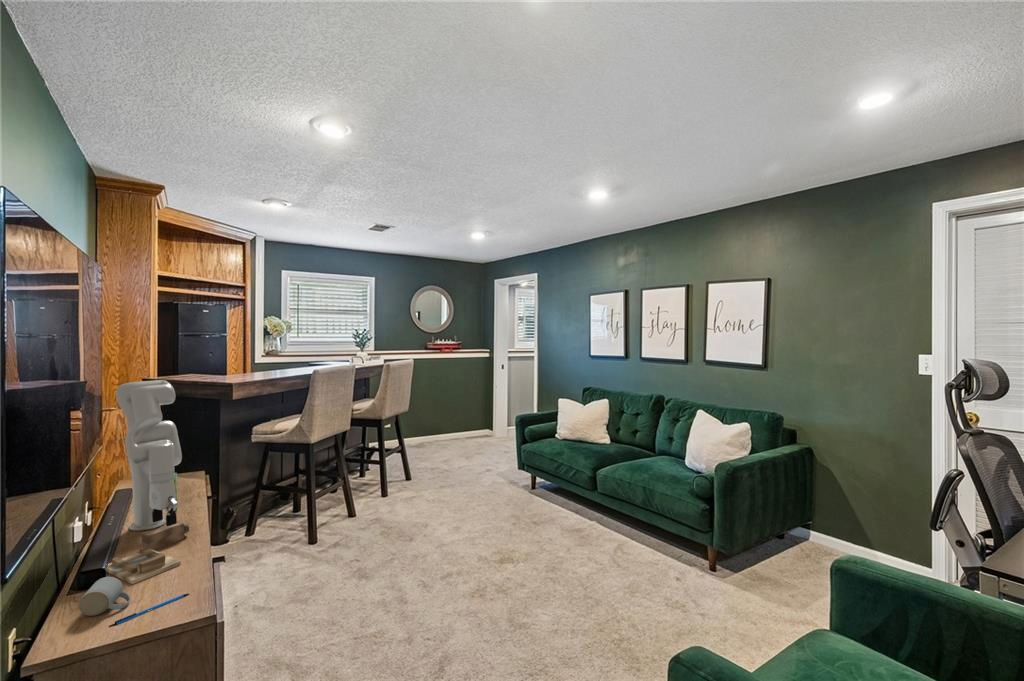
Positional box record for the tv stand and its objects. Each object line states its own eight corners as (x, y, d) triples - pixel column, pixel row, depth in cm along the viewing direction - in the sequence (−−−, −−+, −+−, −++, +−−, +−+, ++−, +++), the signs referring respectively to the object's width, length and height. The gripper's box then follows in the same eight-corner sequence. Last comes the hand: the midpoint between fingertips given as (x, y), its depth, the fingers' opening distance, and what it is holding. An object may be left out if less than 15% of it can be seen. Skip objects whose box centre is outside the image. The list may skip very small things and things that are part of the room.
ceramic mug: (76, 620, 131) (76, 593, 131) (92, 603, 139) (92, 578, 139) (123, 613, 135) (122, 586, 134) (136, 597, 142) (135, 572, 142)
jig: (102, 569, 159) (101, 557, 159) (150, 551, 171) (150, 540, 171) (132, 584, 149) (131, 571, 149) (180, 564, 162) (180, 552, 162)
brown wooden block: (149, 552, 172) (148, 535, 171) (142, 549, 174) (141, 533, 173) (190, 536, 184) (189, 521, 184) (183, 534, 186) (182, 519, 186)
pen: (108, 627, 128) (108, 623, 128) (189, 594, 144) (189, 590, 144) (109, 628, 128) (109, 624, 128) (190, 595, 143) (190, 591, 143)
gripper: (138, 477, 178) (141, 523, 178) (163, 482, 170) (165, 530, 170) (161, 472, 185) (163, 516, 185) (185, 476, 176) (188, 522, 176)
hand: (164, 522), depth 177 cm, fingers open, 9 cm apart
